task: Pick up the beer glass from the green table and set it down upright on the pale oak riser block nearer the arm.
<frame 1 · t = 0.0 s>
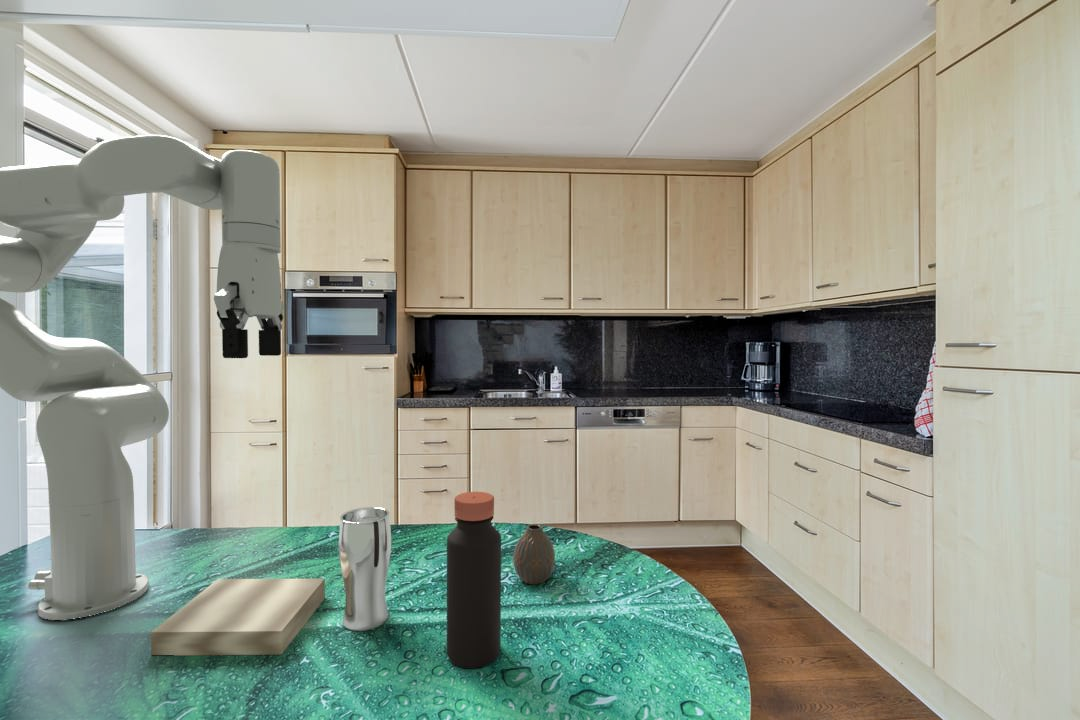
hand: (253, 356, 77), 37 cm above the table, tool pointing down, fingers open, 9 cm apart
bottle: (473, 654, 65), on the table
beer glass: (365, 620, 73), on the table
vase: (533, 579, 85), on the table
oak riser: (246, 623, 71), on the table
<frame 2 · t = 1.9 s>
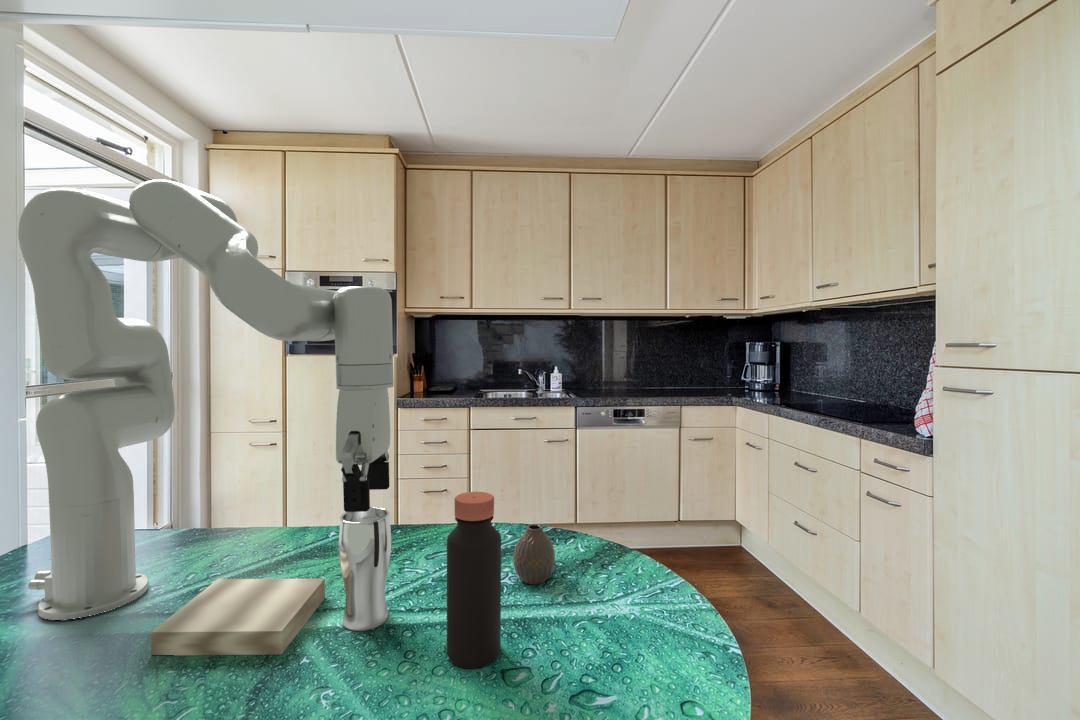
hand: (368, 499, 72), 17 cm above the table, tool pointing down, fingers open, 9 cm apart
nothing on the table moved.
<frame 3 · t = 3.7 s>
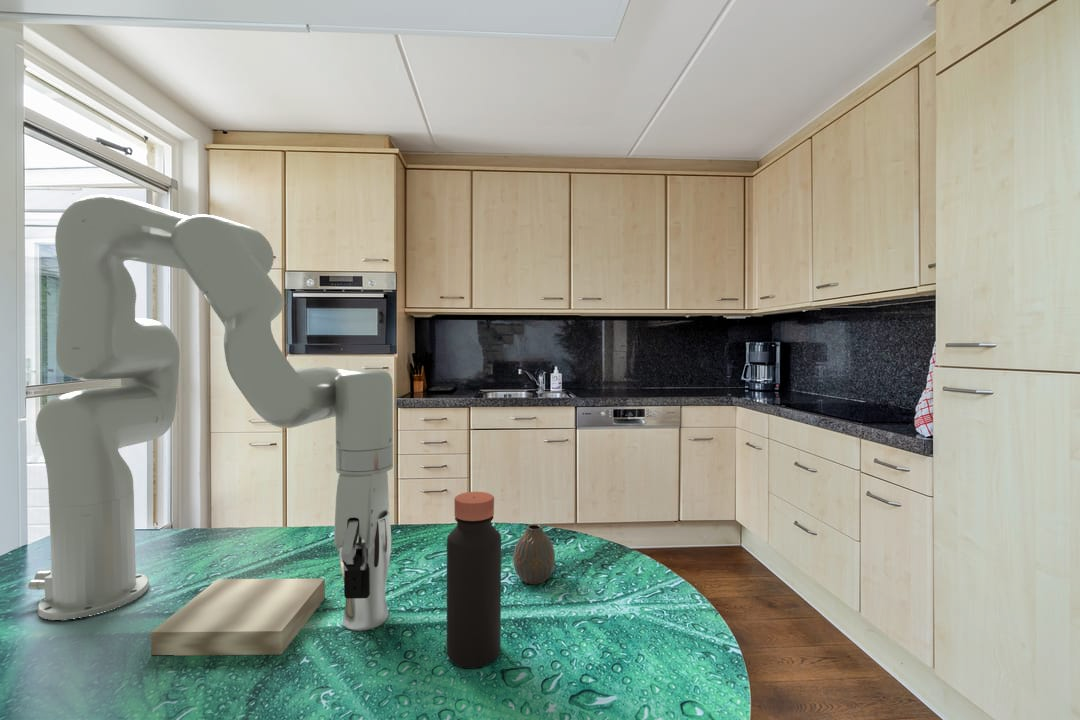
hand: (365, 583, 73), 5 cm above the table, tool pointing down, fingers closed on beer glass, 6 cm apart
beer glass: (365, 620, 73), on the table, touching gripper
everything else where it was.
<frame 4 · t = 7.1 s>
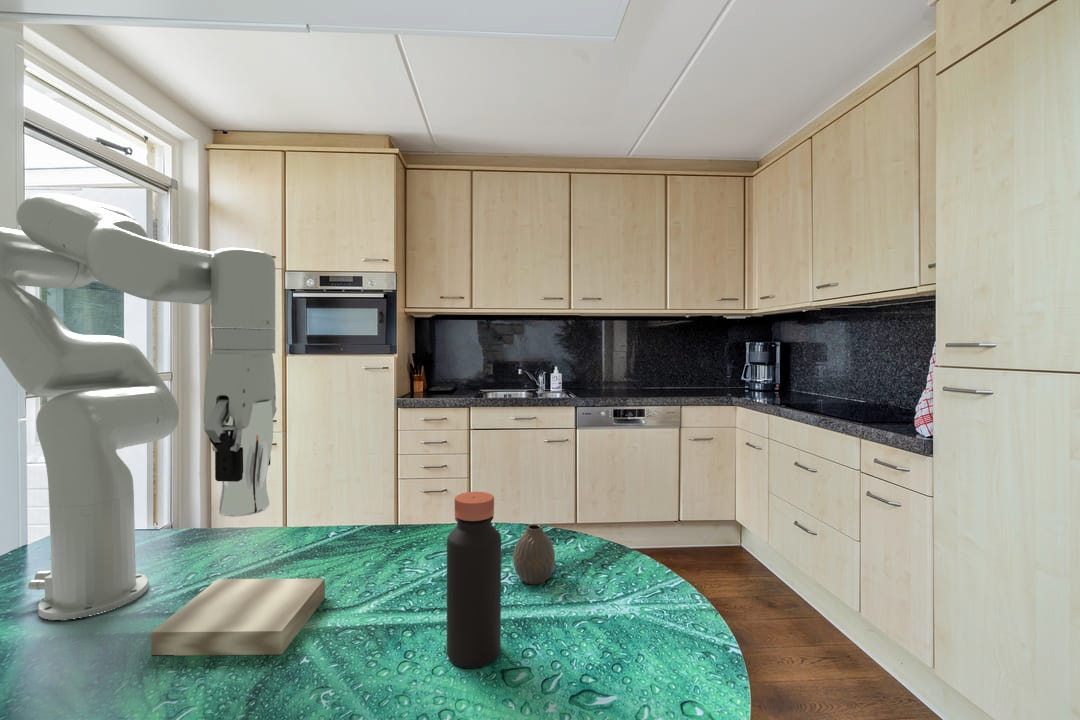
hand: (244, 472, 70), 21 cm above the table, tool pointing down, fingers closed on beer glass, 6 cm apart
beer glass: (244, 510, 71), point 16 cm above the table, touching gripper
everything else where it was.
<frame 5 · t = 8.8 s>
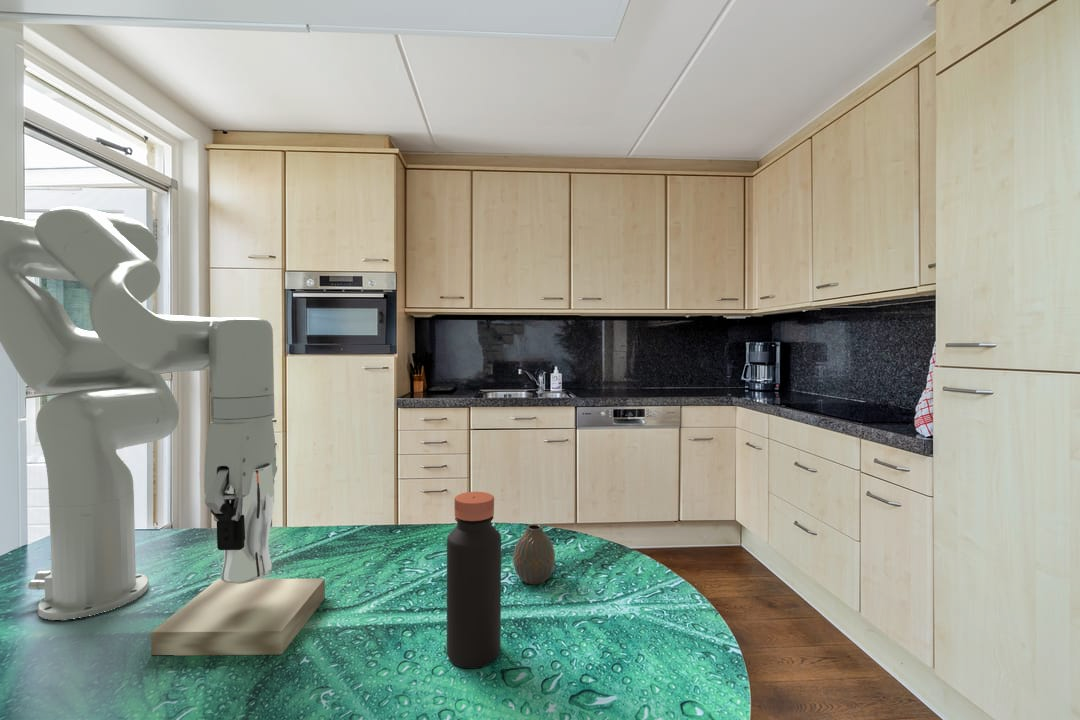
hand: (246, 537, 71), 12 cm above the table, tool pointing down, fingers closed on beer glass, 6 cm apart
beer glass: (247, 575, 71), point 7 cm above the table, touching gripper
everything else where it was.
when the fingers open (10 cm above the table, at t = 10.3 s): beer glass drops 1 cm, resting on oak riser.
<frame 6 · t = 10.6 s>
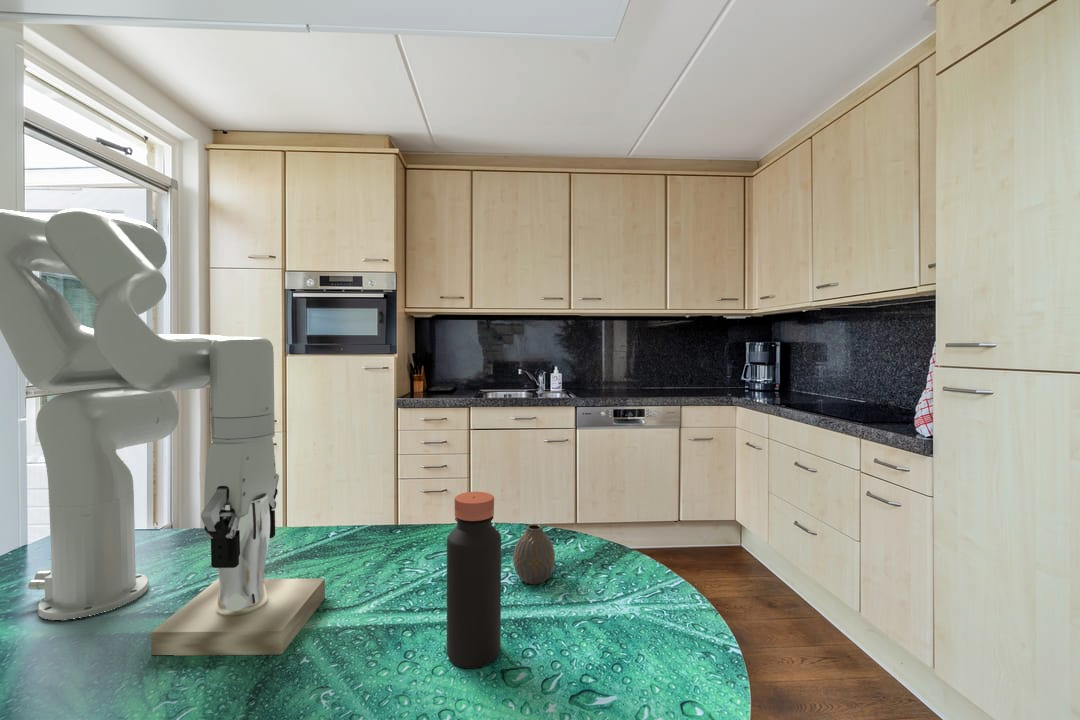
hand: (245, 551, 71), 10 cm above the table, tool pointing down, fingers open, 9 cm apart
beer glass: (242, 605, 71), point 3 cm above the table, touching oak riser
everything else where it was.
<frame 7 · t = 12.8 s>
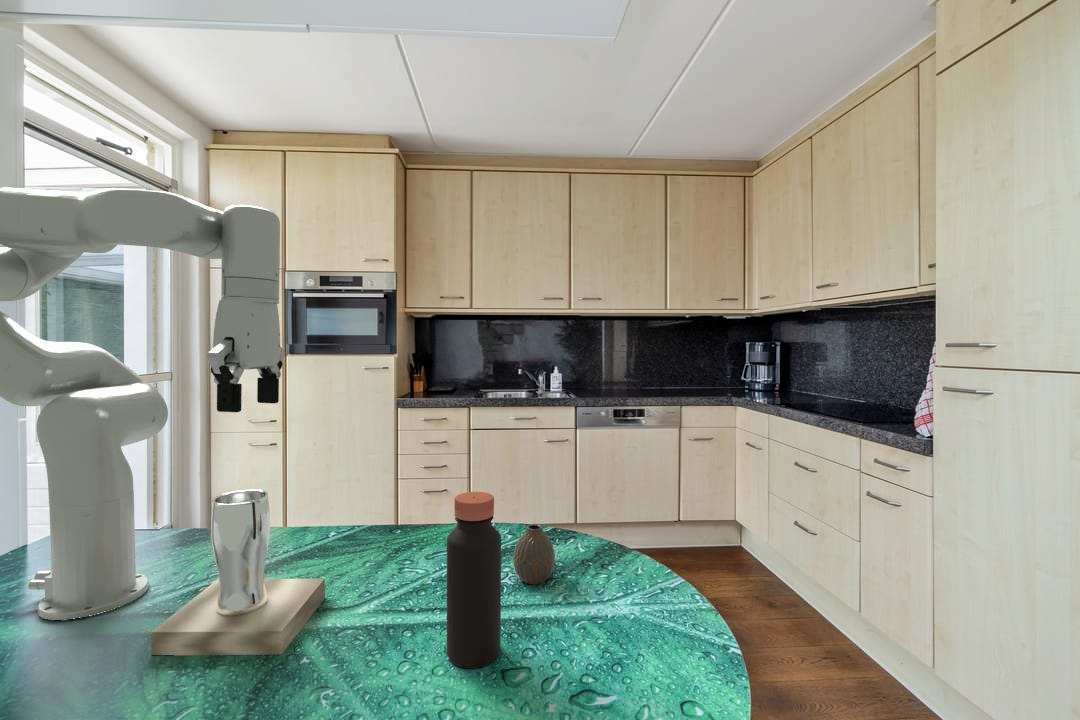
hand: (249, 407, 77), 29 cm above the table, tool pointing down, fingers open, 9 cm apart
nothing on the table moved.
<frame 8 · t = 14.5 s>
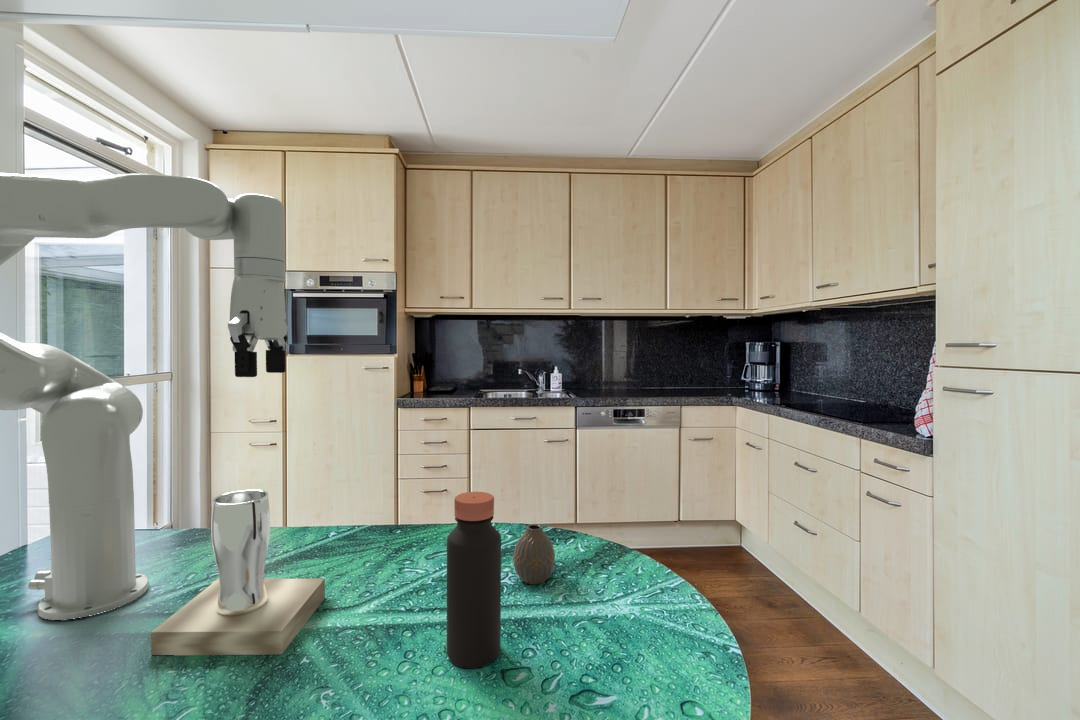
hand: (261, 374, 87), 33 cm above the table, tool pointing down, fingers open, 9 cm apart
nothing on the table moved.
at the end: beer glass inside the target area on the oak riser (0.6 cm from its centre), point 2.8 cm above the oak riser's base; beer glass tilted 0°; the gripper is holding nothing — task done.
